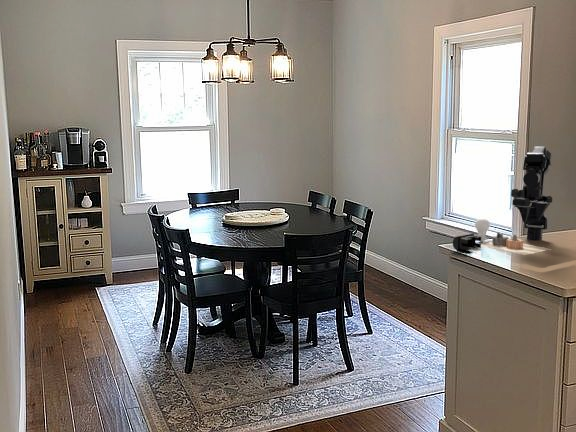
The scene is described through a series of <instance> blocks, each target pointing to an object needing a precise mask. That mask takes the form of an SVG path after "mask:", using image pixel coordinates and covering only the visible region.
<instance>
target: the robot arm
mask: <svg viewBox="0 0 576 432" xmlns="http://www.w3.org/2000/svg"><path fill="white" fill-rule="evenodd" d="M523 158H524V159H523V167H522V171H526V173H525V174H524V175H523V178H522V179H523V180H522V181H523V184H525V185H523V186H522V189H518V188H513V189H511V193H510V196H511V197H512V198H513V199H512V206H514V207H516V209H518V211H519V213H520V217H521V221H522V222H523V223H524V229H527V232H526V240H528V241H542V242H544V240H543V230H547V229H548V218H547V216H546V213H545V212H546V210H547V209H548V207H549V206H550V205H551V203H553V197H552V196H551V195H547V194H544V186H545V185H544V184H545V176H546V175H547V174H548V172H549V171H550V167H551V166H552V153H551V152H550V151H549V150H548V149H547V146H543V145H535V146H534V147H533V150H532V151H531V152H526V155H524V157H523Z"/></svg>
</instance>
